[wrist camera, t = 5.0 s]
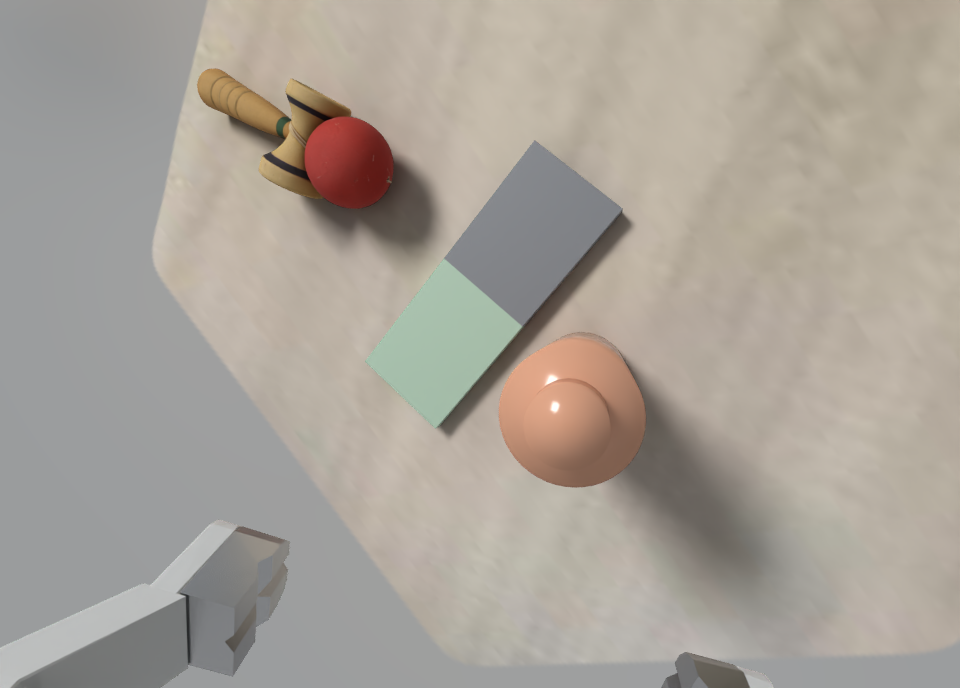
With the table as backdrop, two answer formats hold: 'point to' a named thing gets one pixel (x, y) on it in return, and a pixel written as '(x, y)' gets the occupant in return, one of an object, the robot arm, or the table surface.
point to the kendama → (309, 141)
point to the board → (492, 283)
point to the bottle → (573, 412)
